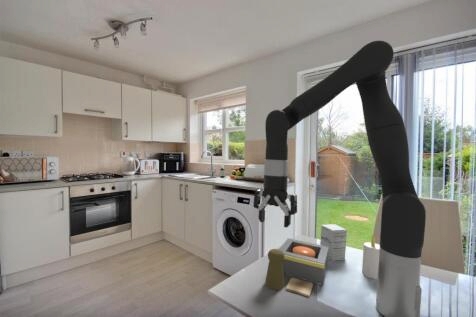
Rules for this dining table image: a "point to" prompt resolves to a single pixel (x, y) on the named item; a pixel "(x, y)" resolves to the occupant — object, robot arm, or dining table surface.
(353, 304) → the dining table surface
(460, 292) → the dining table surface
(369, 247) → the candle
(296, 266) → the box
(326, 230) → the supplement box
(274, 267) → the olive brown knobbed peg
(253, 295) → the dining table surface
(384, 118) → the robot arm
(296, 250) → the button
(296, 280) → the cork coaster
